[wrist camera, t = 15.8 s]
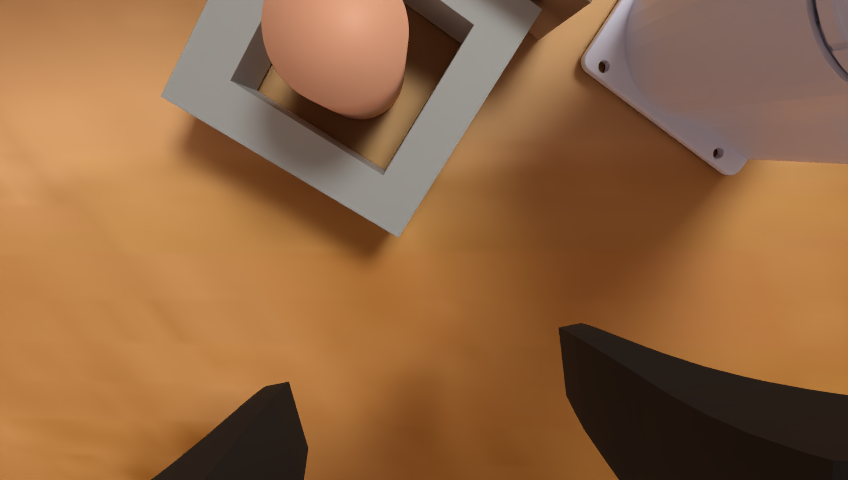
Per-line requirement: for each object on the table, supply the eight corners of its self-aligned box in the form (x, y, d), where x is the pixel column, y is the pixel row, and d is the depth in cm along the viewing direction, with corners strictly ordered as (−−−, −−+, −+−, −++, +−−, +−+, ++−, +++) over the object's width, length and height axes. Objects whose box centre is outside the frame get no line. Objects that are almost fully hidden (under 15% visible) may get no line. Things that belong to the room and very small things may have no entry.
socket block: (518, 31, 18) (541, 9, 15) (397, 223, 20) (398, 237, 17) (313, -122, 16) (295, -179, 13) (198, 104, 18) (160, 96, 15)
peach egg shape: (415, 103, 19) (427, 81, 12) (331, 131, 19) (294, 124, 12) (386, 9, 18) (381, -74, 11) (297, 38, 18) (237, -25, 11)
